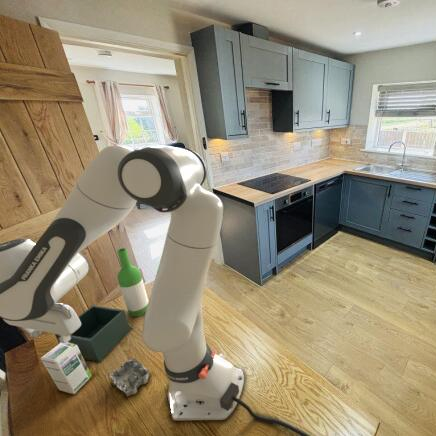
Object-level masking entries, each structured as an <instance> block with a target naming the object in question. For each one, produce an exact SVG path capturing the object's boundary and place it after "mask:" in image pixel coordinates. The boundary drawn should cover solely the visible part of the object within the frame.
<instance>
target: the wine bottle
mask: <svg viewBox="0 0 436 436" xmlns="http://www.w3.org/2000/svg"><path fill="white" fill-rule="evenodd" d="M116 252H117V256H118V260H119V263H120V266H121V268H120V270H119V271H118V273H117V282H118V284H119V289H120V292H121V294H122V297H123V300H124V303H125V306H126V309H127V312H128V314H129V315H130V317H140V316H142V315H145V313H146V309H147V306H148V302H149V298H148V297H149V296H148V294H147V291H146V288H145V287H146V286H145V283H144V280H143V276H142V272H141V270H140V269H139V268H138V267H137V266H136V265H132V263H131V260H130V257H129V254H128V251H127V248H125V247H122V248H119V249H117V250H116Z"/></svg>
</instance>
